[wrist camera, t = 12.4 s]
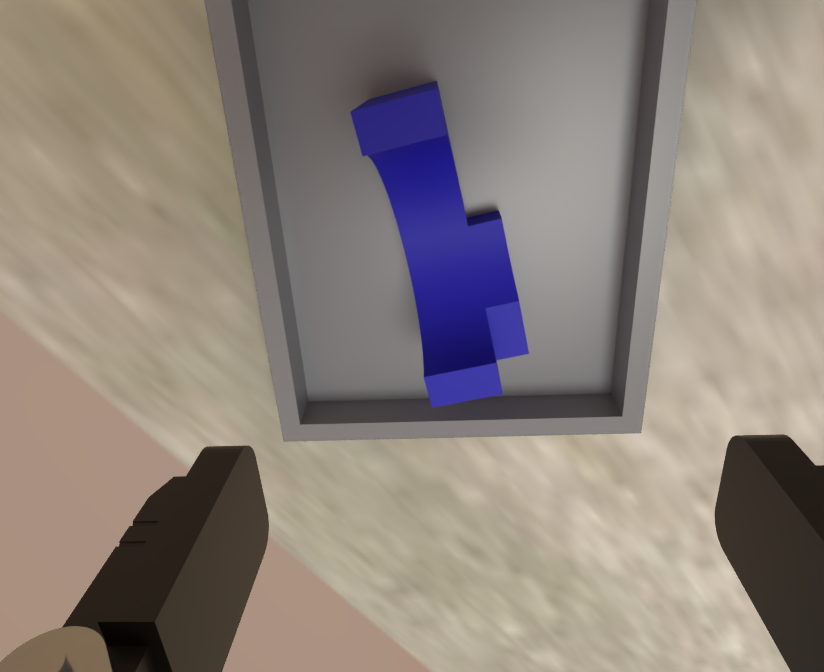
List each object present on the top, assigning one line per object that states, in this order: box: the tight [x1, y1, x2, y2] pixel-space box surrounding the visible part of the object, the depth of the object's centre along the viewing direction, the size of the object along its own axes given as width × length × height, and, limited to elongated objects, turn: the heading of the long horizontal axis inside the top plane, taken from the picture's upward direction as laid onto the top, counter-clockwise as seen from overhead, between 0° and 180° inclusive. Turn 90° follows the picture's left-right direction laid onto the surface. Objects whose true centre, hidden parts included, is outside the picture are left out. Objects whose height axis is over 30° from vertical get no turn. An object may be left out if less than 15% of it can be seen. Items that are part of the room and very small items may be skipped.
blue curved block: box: [350, 81, 529, 408], centre depth 25 cm, size 12×4×6 cm, turn 14°
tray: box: [205, 0, 697, 441], centre depth 27 cm, size 18×22×3 cm
